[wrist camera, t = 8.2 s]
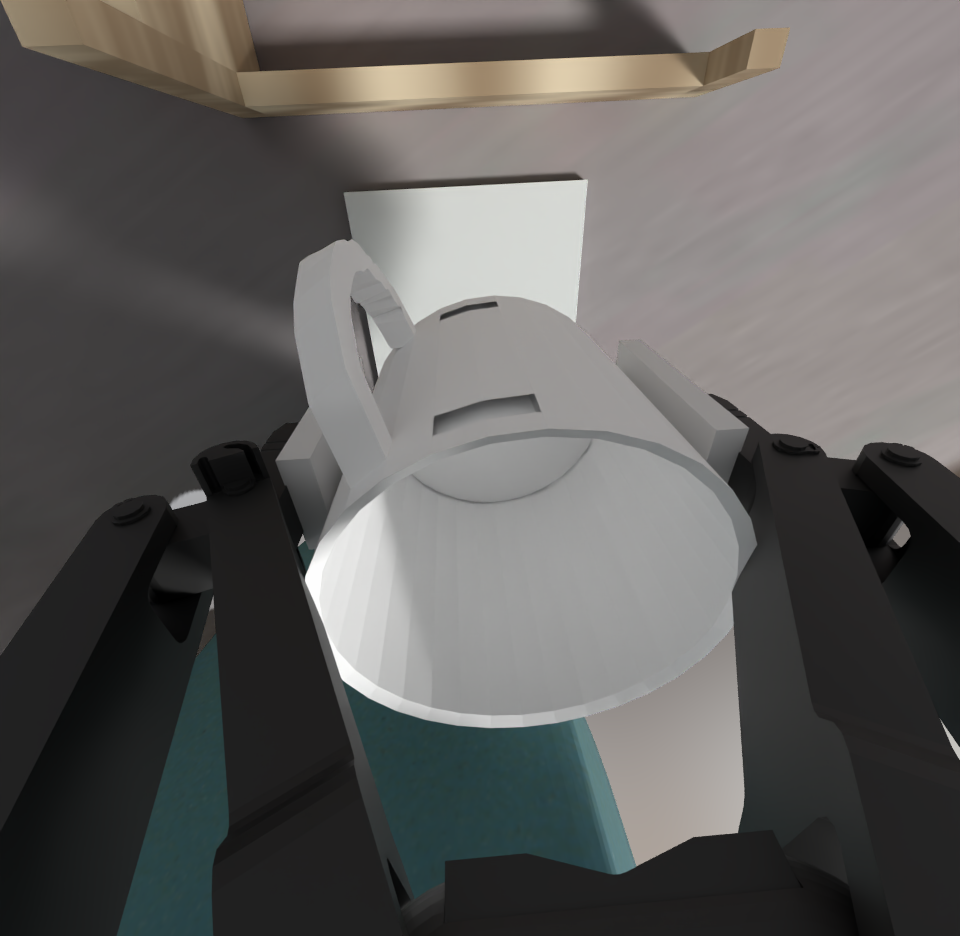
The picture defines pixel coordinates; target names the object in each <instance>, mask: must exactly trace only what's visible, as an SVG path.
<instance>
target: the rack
mask: <svg viewBox="0 0 960 936" xmlns="http://www.w3.org/2000/svg"><path fill="white" fill-rule="evenodd" d="M0 1H1V3H2V5H3V7H4V9H5V11H6V13H7V15H8V18H9V20H10V22H11V24H12V26H13V28H14V30H15V32H16V34H17V37H18V39H19V41H20V43H21V45H22V47H24V48H27V49H30V50H33V51H36V52H40V53H43V54H46V55H49V56H52V57H55V58H58V59H61V60H64V61H67V62H71V63H74V64H77V65H80V66H83V67H86V68H89V69H92V70H95V71H98V72H102V73H105V74H108V75H111V76H114V77H117V78H120V79H123V80H126V81H129V82H133V83H136V84H139V85H142V86H145V87H148V88H151V89H154V90H157V91H160V92H164V93H167V94H170V95H173V96H176V97H179V98H182V99H185V100H188V101H191V102H195V103H198V104H201V105H204V106H207V107H210V108H213V109H216V110H219V111H222V112H226V113H229V114H232V115H235V116H238V117H241V118H253V117H275V116H296V115H318V114H339V113H361V112H382V111H404V110H425V109H447V108H468V107H490V106H511V105H533V104H554V103H576V102H597V101H619V100H640V99H662V98H683V97H697V96H700V95H703V94H706V93H709V92H711V91H714V90H717V89H720V88H723V87H726V86H729V85H732V84H735V83H737V82H740V81H743V80H746V79H749V78H752V77H755V76H758V75H761V74H763V73H766V72H769V71H772V70H775V69H778V68H780V65H781V61H782V57H783V53H784V50H785V46H786V42H787V38H788V34H789V31H790V28H769V29H755V30H753V31H751V32H749V33H747V34H745V35H743V36H741V37H739V38H737V39H735V40H733V41H731V42H729V43H727V44H725V45H723V46H721V47H719V48H717V49H715V50H713V51H711V52H699V53H676V54H653V55H630V56H606V57H583V58H560V59H537V60H513V61H490V62H467V63H444V64H420V65H397V66H374V67H351V68H328V69H304V70H281V71H260V68H259V64H258V60H257V56H256V52H255V48H254V44H253V40H252V36H251V32H250V28H249V24H248V20H247V16H246V12H245V8H244V4H243V0H0Z"/></svg>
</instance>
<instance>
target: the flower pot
mask: <svg viewBox="0 0 960 936" xmlns="http://www.w3.org/2000/svg"><path fill="white" fill-rule="evenodd" d="M298 549H299V551H300V554H301V556H302V559H303V562H304V565H305V568H306V571H308V568H309V565H310V562H311V560H312V557H313V554H314V551H315V549H310V550H309V548H308V546H307V543H306V541H304V542H303V543H302V544H301V545H300V546H298ZM342 682H343V686H344V689H345V692H346V695H347V698H348V701H349V704H350V707H351V710H352V713H353V716H354V720H355V723H356V726H357V729H358V732H359V735H360V738H361V741H362V744H363V747H364V750H365V753H366V757H367V760H368V763H369V766H370V769H371V772H372V775H373V778H374V781H375V784H376V787H377V791H378V794H379V797H380V800H381V803H382V806H383V809H384V812H385V815H386V818H387V821H388V824H389V827H390V830H391V833H392V836H393V839H394V842H395V844H396V847H397V850H398V852H399V855H400V858H401V860H402V863H403V866H404V869H405V872H406V875H407V878H408V881H409V884H410V887H411V890H412V893H413V896H414V899H416V898H417V897H419V896H420V895H422V894H423V893H425V892H426V891H427V890H429V889H431V888H433V887H435V886H437V885H439V884H441V883H443V882H445V861H449V860H460V859H471V858H481V857H492V856H502V855H513V854H523V853H528V854H532V855H536V856H540V857H544V858H548V859H552V860H556V861H560V862H564V863H568V864H572V865H576V866H580V867H583V868H587V869H591V870H595V871H599V872H603V873H607V874H622V873H625V872H627V871H629V870H631V869H633V868H635V867H636V864H635V861H634V858H633V855H632V851H631V849H630V846H629V842H628V839H627V836H626V833H625V830H624V827H623V823H622V820H621V817H620V814H619V811H618V808H617V805H616V802H615V799H614V795H613V793H612V789H611V786H610V783H609V780H608V777H607V774H606V772H605V769H604V766H603V763H602V760H601V758H600V755H599V752H598V749H597V747H596V744H595V741H594V739H593V736H592V734H591V731H590V729H589V727H588V724H587V722H586V719H585V717H582V718H577V719H573V720H568V721H563V722H559V723H553V724H545V725H536V726H528V727H510V728H482V727H468V726H456V725H451V724H445V723H440V722H434V721H428V720H424V719H421V718H418V717H414V716H411V715H408V714H404V713H401V712H398V711H395V710H393V709H391V708H389V707H387V706H384V705H382V704H380V703H378V702H376V701H374V700H371V699H369V698H367V697H366V696H365V695H363V694H362V693H360V692H359V691H357V690H356V689H354V688H353V687H351V686H350V685H348V684H347V683H346V682H344V681H343V680H342ZM228 828H229V809H228V795H227V781H226V766H225V752H224V738H223V724H222V709H221V695H220V681H219V667H218V652H217V638H216V634H215V635H214V636H213V638H212V639H211V640H210V641H209V642H208V644H207V645H206V646H205V647H204V649H203V650H202V651H201V652H200V654H199V655H198V656H197V657H196V658H195V661H194V665H193V668H192V672H191V675H190V679H189V683H188V686H187V690H186V693H185V697H184V700H183V704H182V707H181V711H180V714H179V718H178V721H177V725H176V728H175V732H174V735H173V739H172V742H171V746H170V749H169V753H168V757H167V760H166V764H165V767H164V771H163V774H162V778H161V781H160V785H159V788H158V792H157V795H156V799H155V802H154V806H153V809H152V813H151V816H150V820H149V824H148V827H147V831H146V834H145V838H144V841H143V845H142V848H141V852H140V855H139V859H138V862H137V866H136V869H135V873H134V876H133V880H132V883H131V887H130V891H129V894H128V898H127V901H126V905H125V908H124V912H123V915H122V919H121V922H120V926H119V929H118V933H117V936H213V918H212V867H213V862H214V858H215V854H216V849H217V848H218V847H219V845H220V844H221V843H222V842H223V840H224V839H225V838H226V837H227V833H228Z"/></svg>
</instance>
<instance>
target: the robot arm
mask: <svg viewBox="0 0 960 936" xmlns="http://www.w3.org/2000/svg"><path fill="white" fill-rule="evenodd" d="M359 362H360V367H361V369H362V372H363V374H364V376H365V373H364V368H363V363H362V358H361V357H359ZM616 365H617V366H618V367H619V368H620V369H621V371H622V372H623V373H624V374H625V375H626V376H627V377H628V378H629V379H630V380H631V381H632V382H633V383H634V384H635V386H636V387H637V388H638V389H639V390H640V391H641V392H642V393H643V394H644V395H645V396H646V397H647V398H648V400H649V401H650V402H651V403H652V404H653V405H654V406H655V407H656V408H657V409H658V410H659V411H660V412H661V413H662V415H663V416H664V417H665V418H666V419H667V420H668V421H669V422H670V423H671V424H672V425H673V426H674V427H675V429H676V430H677V431H678V432H679V433H680V434H681V435H682V436H683V437H684V438H685V439H686V440H687V441H688V442H689V444H690V445H691V446H692V447H693V448H694V449H695V450H696V451H697V452H698V453H699V454H700V455H701V456H702V458H703V459H704V460H705V461H706V462H707V463H708V464H709V465H710V466H711V467H712V468H713V469H714V470H715V471H716V473H717V474H718V475H719V476H720V477H721V478H722V479H723V480H724V481H725V482H726V483H727V484H728V485H729V486H730V488H731V489H732V490H733V491H734V493H735V494H736V496H737V498H738V499H739V501H740V502H741V504H742V505H743V507H744V509H745V510H746V512H747V513H748V515H749V517H750V518H751V520H752V525H753V529H754V533H755V537H756V542H757V546H756V548H755V549H754V551H753V553H752V554H751V556H750V558H749V560H748V561H747V563H746V565H745V567H744V569H743V570H742V572H741V574H740V576H739V578H738V580H737V582H736V584H735V586H734V588H733V590H732V606H733V621H734V636H735V649H736V665H737V681H738V697H739V711H740V727H741V742H742V757H743V772H744V787H745V798H744V808H743V812H742V817H741V821H740V825H739V831H738V833H735V834H724V835H713V836H702V837H693V838H691V839H689V840H687V841H686V842H683V843H682V844H679V845H678V846H676V847H674V848H672V849H670V850H668V851H666V852H664V853H662V854H660V855H658V856H656V857H655V858H652V859H650V860H648V861H646V862H644V863H643V864H641V865H639V866H637V867H635V868H633V869H631V870H629V871H627V872H625V873H622V874H607V873H603V872H599V871H595V870H591V869H587V868H583V867H580V866H576V865H572V864H568V863H564V862H560V861H556V860H552V859H548V858H544V857H540V856H536V855H532V854H528V853H523V854H513V855H502V856H492V857H481V858H471V859H460V860H449V861H445V882H443V883H441V884H439V885H437V886H435V887H433V888H431V889H429V890H427V891H426V892H425V893H423V894H422V895H420V896H419V897H417V898H416V899H414V896H413V893H412V890H411V887H410V884H409V881H408V878H407V875H406V872H405V869H404V866H403V863H402V860H401V858H400V855H399V852H398V850H397V847H396V844H395V842H394V839H393V836H392V833H391V830H390V827H389V824H388V821H387V818H386V815H385V812H384V809H383V806H382V803H381V800H380V797H379V794H378V791H377V787H376V784H375V781H374V778H373V775H372V772H371V769H370V766H369V763H368V760H367V757H366V753H365V750H364V747H363V744H362V741H361V738H360V735H359V732H358V729H357V726H356V723H355V720H354V716H353V713H352V710H351V707H350V704H349V701H348V698H347V695H346V692H345V689H344V686H343V682H342V679H341V676H340V673H339V670H338V667H337V664H336V661H335V658H334V655H333V652H332V649H331V645H330V642H329V639H328V636H327V633H326V630H325V627H324V624H323V622H322V619H321V617H320V615H319V612H318V610H317V607H316V605H315V603H314V600H313V598H312V596H311V594H310V591H309V589H308V587H307V584H306V582H305V576H306V573H307V571H306V568H305V565H304V562H303V559H302V556H301V554H300V551H299V549H298V543H299V541H300V539H301V537H302V534H303V535H304V538H305V540H306V543H307V546H308V548H309V550H310V549H316V546H317V543H318V541H319V538H320V535H321V532H322V530H323V527H324V524H325V521H326V519H327V516H328V513H329V510H330V508H331V505H332V502H333V499H334V497H335V494H336V491H337V488H338V486H339V483H340V480H341V478H342V475H343V473H342V471H341V469H340V467H339V465H338V463H337V461H336V459H335V457H334V455H333V453H332V451H331V449H330V447H329V445H328V443H327V441H326V439H325V437H324V435H323V433H322V431H321V429H320V427H319V425H318V423H317V421H316V419H315V417H314V415H313V413H312V411H311V409H310V406H309V408H308V409H307V411H306V413H305V414H304V416H303V417H302V419H301V421H300V422H299V423H286V424H285V425H283V426H282V427H280V428H279V429H277V430H276V431H274V432H273V433H272V435H271V436H270V438H269V439H268V440H267V442H266V444H265V445H264V446H263V447H262V449H261V452H260V451H259V448H258V447H257V445H256V444H255V443H253V442H249V441H232V442H227V443H222V444H219V445H217V446H214V447H211V448H209V449H207V450H205V451H203V452H202V453H200V454H199V455H198V456H197V457H195V458H194V459H193V461H192V463H191V468H192V470H193V472H194V474H195V475H196V477H197V479H198V481H199V483H200V485H201V487H202V489H203V491H204V493H205V495H206V497H207V501H205V502H202V503H198V504H194V505H191V506H187V507H183V508H179V509H175V510H172V508H171V507H170V505H169V503H168V502H167V500H166V499H165V498H164V497H162V496H157V495H149V496H141V497H137V498H131V499H128V500H125V501H124V502H120V503H118V504H116V505H114V506H113V507H112V508H111V509H109V510H108V511H106V512H104V513H103V514H102V515H101V516H100V517H99V518H98V519H97V520H96V521H95V522H94V524H93V525H92V527H91V528H90V529H89V531H88V532H87V534H86V535H85V537H84V538H83V539H82V541H81V542H80V544H79V545H78V547H77V548H76V549H75V551H74V552H73V554H72V555H71V556H70V558H69V559H68V561H67V562H66V564H65V565H64V566H63V568H62V569H61V571H60V572H59V574H58V575H57V576H56V578H55V579H54V581H53V582H52V583H51V585H50V586H49V588H48V589H47V591H46V592H45V593H44V595H43V596H42V598H41V599H40V601H39V602H38V603H37V605H36V606H35V608H34V609H33V610H32V612H31V613H30V615H29V616H28V618H27V619H26V620H25V622H24V623H23V625H22V626H21V627H20V629H19V630H18V632H17V633H16V635H15V636H14V637H13V639H12V640H11V642H10V643H9V645H8V646H7V647H6V649H5V650H4V652H3V653H2V654H1V656H0V936H117V933H118V929H119V926H120V922H121V919H122V915H123V912H124V908H125V905H126V901H127V898H128V894H129V891H130V887H131V883H132V880H133V876H134V873H135V869H136V866H137V862H138V859H139V855H140V852H141V848H142V845H143V841H144V838H145V834H146V831H147V827H148V824H149V820H150V816H151V813H152V809H153V806H154V802H155V799H156V795H157V792H158V788H159V785H160V781H161V778H162V774H163V771H164V767H165V764H166V760H167V757H168V753H169V749H170V746H171V742H172V739H173V735H174V732H175V728H176V725H177V721H178V718H179V714H180V711H181V707H182V704H183V700H184V697H185V693H186V690H187V686H188V683H189V679H190V675H191V672H192V668H193V665H194V661H195V658H196V654H197V651H198V647H199V644H200V640H201V637H202V633H203V630H204V626H205V623H206V619H207V616H208V612H209V608H210V605H211V601H212V598H213V595H214V610H215V624H216V638H217V652H218V667H219V681H220V695H221V709H222V724H223V738H224V752H225V766H226V781H227V795H228V809H229V828H228V833H227V837H226V838H225V839H224V840H223V842H222V843H221V844H220V845H219V847H218V848H217V849H216V854H215V858H214V862H213V867H212V918H213V936H960V760H959V758H958V757H957V755H956V753H955V752H954V750H953V748H952V746H951V744H950V742H949V739H948V737H947V735H946V732H945V730H944V728H943V725H942V723H941V721H942V722H943V724H944V725H945V727H946V728H947V729H948V731H949V732H950V734H951V735H952V736H953V738H954V740H955V741H956V743H957V744H958V745H959V747H960V478H959V477H957V476H956V475H955V474H954V473H952V472H951V471H950V470H948V469H947V468H946V467H944V466H943V465H942V464H941V463H939V462H938V461H937V460H935V459H934V458H932V457H930V456H929V455H927V454H925V453H923V452H920V451H918V450H915V449H914V448H913V447H910V446H907V445H904V446H903V444H898V443H883V442H880V443H870V444H867V445H865V446H864V447H863V449H862V451H861V453H860V455H859V456H858V458H857V460H848V459H838V458H828V457H827V456H826V454H825V452H824V451H823V450H822V448H821V447H820V446H818V445H817V444H815V443H813V442H811V441H809V440H806V439H804V438H801V437H797V436H793V435H788V434H770V433H769V432H767V431H766V430H765V429H764V428H762V427H761V426H760V425H758V424H757V423H756V422H755V421H753V420H752V419H751V418H749V417H747V415H746V414H744V413H743V412H742V411H738V408H736V407H735V406H734V405H733V404H731V403H730V402H729V401H727V400H725V399H723V398H720V397H718V396H716V395H713V394H707V393H705V392H704V391H703V390H702V389H701V388H699V387H698V386H697V385H696V384H694V383H693V382H692V381H691V380H689V379H688V378H687V377H686V376H685V375H683V374H682V373H681V372H680V371H678V370H677V369H676V368H675V367H673V366H672V365H671V364H670V363H669V362H667V361H666V360H665V359H664V358H662V357H661V356H660V355H659V354H657V353H656V352H655V351H654V350H653V349H651V348H650V347H649V346H648V345H646V344H645V343H644V342H643V341H641V340H625V341H619V346H618V353H617V360H616ZM365 379H366V377H365ZM903 523H905V524H906V526H907V527H908V529H909V531H910V535H911V537H910V538H909V539H908V541H907V542H906V544H905V545H904V546H903V547H899V546H898V545H897V544H896V542H894V540H893V537H894V536H895V534H896V533H897V532H898V530H899V529H900V527H901V526H902V524H903ZM940 719H941V720H940Z"/></svg>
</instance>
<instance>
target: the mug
mask: <svg viewBox="0 0 960 936" xmlns="http://www.w3.org/2000/svg"><path fill="white" fill-rule="evenodd" d="M350 295H351V297H352V298H353V300H354V301H355V303H360V305H361V306H363V308H364V309H365V311H366V312H367V313H368V314H369V315H370V316H371V317H372V319H373V320H374V322H375V323H376V325H377V327H378V328H379V330H380V332H381V333H382V335H383V337H384V338H385V340H386V342H387V344H388V345H389V347H390V349H392V348H393V349H392V351H391V352H390V354H389V355H388V357H387V358H386V360H385V362H384V364H383V367H382V369H381V372H380V374H379V377H378V379H377V382H376V384H375V387H374V390H373V393H371V390H370V388H369V386H368V383H367V381H366V379H365V376H364V374H363V372H362V369H361V367H360V362H359V357H358V351H357V345H356V340H355V334H354V328H353V323H352V317H351V298H350ZM293 308H294V335H295V340H296V345H297V350H298V355H299V360H300V365H301V370H302V375H303V380H304V385H305V390H306V395H307V400H308V404H309V406H310V409H311V411H312V413H313V415H314V417H315V419H316V421H317V423H318V425H319V427H320V429H321V431H322V433H323V435H324V437H325V439H326V441H327V443H328V445H329V447H330V449H331V451H332V453H333V455H334V457H335V459H336V461H337V463H338V465H339V467H340V469H341V471H342V473H343V475H342V478H341V480H340V483H339V486H338V488H337V491H336V494H335V497H334V499H333V502H332V505H331V508H330V510H329V513H328V516H327V519H326V521H325V524H324V527H323V530H322V532H321V535H320V538H319V541H318V543H317V546H316V549H315V551H314V554H313V557H312V560H311V562H310V565H309V568H308V571H307V573H306V576H305V582H306V584H307V587H308V589H309V591H310V594H311V596H312V598H313V600H314V603H315V605H316V607H317V610H318V612H319V615H320V617H321V619H322V622H323V624H324V627H325V630H326V633H327V636H328V639H329V642H330V645H331V649H332V652H333V655H334V658H335V661H336V664H337V667H338V670H339V673H340V676H341V679H342V680H343V681H344V682H346V683H347V684H348V685H350V686H351V687H353V688H354V689H356V690H357V691H359V692H360V693H362V694H363V695H365V696H366V697H367V698H369V699H371V700H374V701H376V702H378V703H380V704H382V705H384V706H387V707H389V708H391V709H393V710H395V711H398V712H401V713H404V714H408V715H411V716H414V717H418V718H421V719H424V720H428V721H434V722H440V723H445V724H451V725H456V726H468V727H482V728H510V727H528V726H536V725H545V724H553V723H559V722H563V721H568V720H573V719H577V718H582V717H586V716H590V715H593V714H596V713H600V712H602V711H606V710H609V709H612V708H615V707H618V706H621V705H623V704H626V703H628V702H630V701H632V700H635V699H637V698H640V697H642V696H644V695H646V694H649V693H651V692H653V691H654V690H656V689H658V688H660V687H661V686H663V685H665V684H667V683H668V682H670V681H672V680H674V679H675V678H677V677H679V676H680V675H682V674H683V673H684V672H686V671H687V670H688V669H690V668H691V667H692V666H693V665H695V664H696V663H697V662H699V661H700V660H701V659H703V658H704V657H705V656H706V655H707V654H708V653H709V652H710V651H711V650H712V649H713V648H714V647H715V646H716V645H717V644H718V643H719V642H720V641H721V640H722V639H723V638H724V637H725V636H726V635H727V634H728V633H729V631H730V630H731V628H732V627H733V625H734V621H733V606H732V590H733V588H734V586H735V584H736V582H737V580H738V578H739V576H740V574H741V572H742V570H743V569H744V567H745V565H746V563H747V561H748V560H749V558H750V556H751V554H752V553H753V551H754V549H755V548H756V546H757V542H756V537H755V533H754V529H753V525H752V520H751V518H750V517H749V515H748V513H747V512H746V510H745V509H744V507H743V505H742V504H741V502H740V501H739V499H738V498H737V496H736V494H735V493H734V491H733V490H732V489H731V488H730V486H729V485H728V484H727V483H726V482H725V481H724V480H723V479H722V478H721V477H720V476H719V475H718V474H717V473H716V471H715V470H714V469H713V468H712V467H711V466H710V465H709V464H708V463H707V462H706V461H705V460H704V459H703V458H702V456H701V455H700V454H699V453H698V452H697V451H696V450H695V449H694V448H693V447H692V446H691V445H690V444H689V442H688V441H687V440H686V439H685V438H684V437H683V436H682V435H681V434H680V433H679V432H678V431H677V430H676V429H675V427H674V426H673V425H672V424H671V423H670V422H669V421H668V420H667V419H666V418H665V417H664V416H663V415H662V413H661V412H660V411H659V410H658V409H657V408H656V407H655V406H654V405H653V404H652V403H651V402H650V401H649V400H648V398H647V397H646V396H645V395H644V394H643V393H642V392H641V391H640V390H639V389H638V388H637V387H636V386H635V384H634V383H633V382H632V381H631V380H630V379H629V378H628V377H627V376H626V375H625V374H624V373H623V372H622V371H621V369H620V368H619V367H618V366H617V365H616V364H615V363H614V362H613V361H612V360H611V359H610V358H609V357H608V355H607V354H606V353H605V352H604V351H603V350H602V349H601V348H600V347H599V346H598V345H597V344H596V343H595V342H594V340H593V339H592V338H591V337H590V336H589V335H588V334H587V333H586V332H585V331H584V330H583V329H581V328H580V327H579V326H578V325H577V324H576V323H575V322H574V321H573V320H571V319H570V318H569V317H568V316H566V315H564V314H562V313H560V312H559V311H557V310H555V309H553V308H551V307H550V306H548V305H545V304H542V303H539V302H535V301H532V300H528V299H525V298H522V297H510V296H496V295H493V296H485V297H478V298H471V299H465V300H463V301H460V302H457V303H454V304H451V305H448V306H446V307H443V308H440V309H439V310H437V311H435V312H434V313H432V314H430V315H429V316H427V317H426V318H424V319H422V320H421V321H419V322H417V323H416V324H415V325H414V324H413V322H412V320H411V319H410V317H409V315H408V313H407V311H406V309H405V307H404V306H403V304H402V302H401V300H400V298H399V296H398V294H397V293H396V291H395V289H394V288H393V286H392V285H391V284H390V283H389V281H388V280H387V278H386V277H385V276H384V274H383V273H382V271H381V270H380V269H379V267H378V266H377V265H376V263H375V264H374V263H373V261H372V259H371V257H370V256H368V255H366V253H365V252H364V251H363V249H362V248H361V246H360V245H359V244H358V243H357V242H355V241H354V240H352V239H351V240H349V241H346V240H345V239H343V240H338V241H335V242H333V243H332V244H330V245H328V246H327V247H325V248H323V249H322V250H320V251H318V252H315V253H313V254H311V255H309V256H307V257H306V258H305V259H303V260H302V261H301V262H299V268H298V274H297V281H296V288H295V295H294V302H293Z"/></svg>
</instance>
